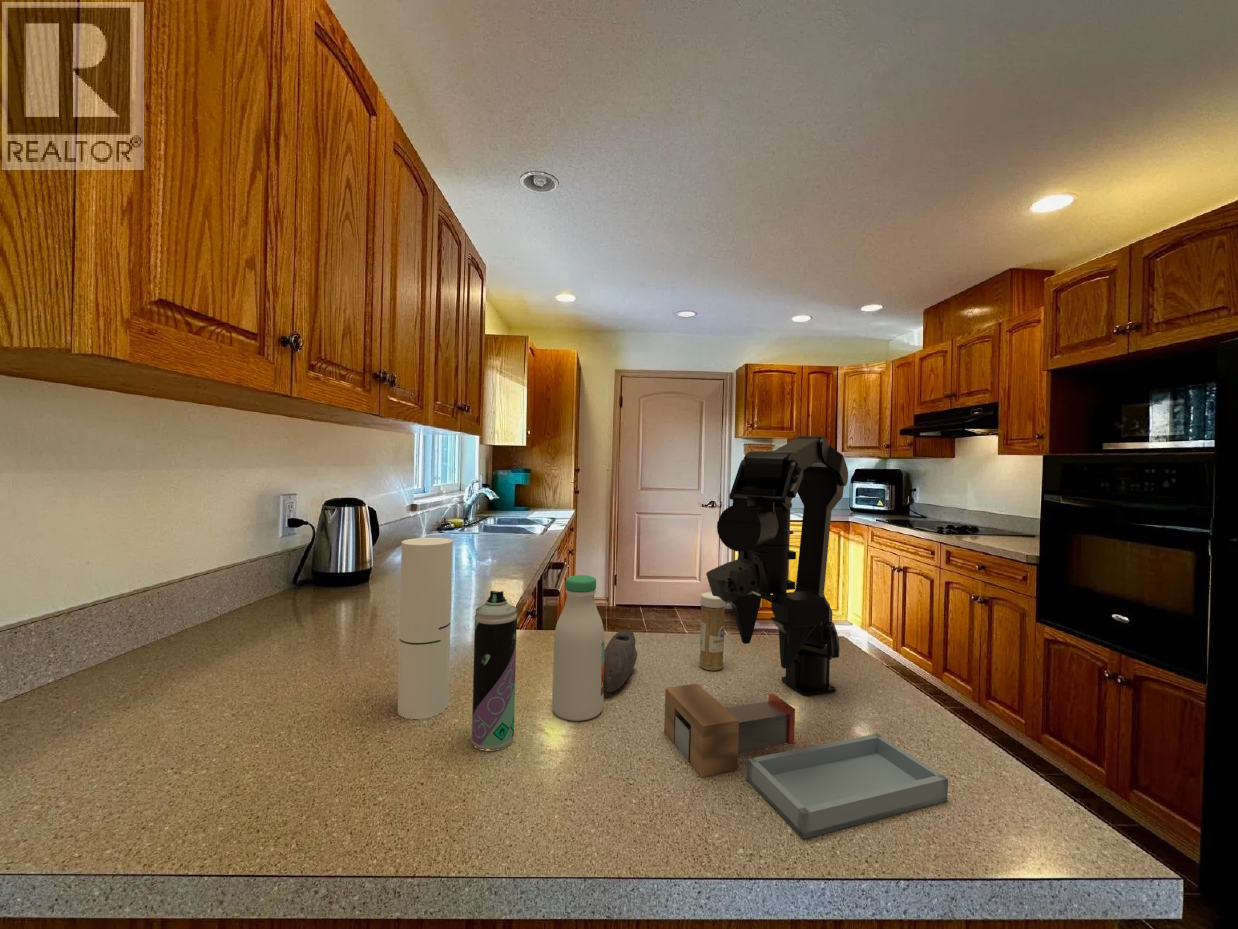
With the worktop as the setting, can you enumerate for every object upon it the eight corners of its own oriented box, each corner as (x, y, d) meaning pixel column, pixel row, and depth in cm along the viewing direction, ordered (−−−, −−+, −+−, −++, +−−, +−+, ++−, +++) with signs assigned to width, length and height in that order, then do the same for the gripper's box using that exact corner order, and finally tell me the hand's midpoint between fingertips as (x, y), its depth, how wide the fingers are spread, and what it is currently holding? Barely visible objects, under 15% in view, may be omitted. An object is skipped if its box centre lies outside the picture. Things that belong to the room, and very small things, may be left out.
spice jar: (720, 673, 92) (722, 599, 92) (696, 668, 94) (698, 595, 94) (725, 664, 97) (728, 593, 96) (702, 660, 98) (704, 590, 98)
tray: (876, 753, 68) (877, 733, 68) (947, 801, 59) (948, 778, 59) (747, 780, 61) (747, 758, 61) (803, 839, 52) (803, 814, 52)
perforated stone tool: (620, 703, 80) (621, 659, 80) (588, 698, 82) (589, 654, 82) (640, 666, 95) (641, 629, 95) (613, 663, 96) (614, 626, 96)
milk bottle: (596, 725, 73) (599, 585, 73) (544, 719, 75) (548, 581, 74) (608, 701, 81) (611, 574, 80) (561, 695, 82) (564, 570, 82)
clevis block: (696, 726, 74) (697, 683, 74) (737, 770, 63) (738, 720, 63) (664, 732, 72) (665, 687, 72) (701, 777, 62) (702, 726, 62)
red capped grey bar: (772, 726, 74) (773, 693, 74) (794, 744, 70) (795, 709, 70) (673, 744, 69) (674, 708, 69) (689, 764, 65) (690, 726, 64)
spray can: (476, 755, 65) (480, 598, 65) (467, 734, 70) (471, 588, 70) (518, 745, 67) (522, 594, 67) (507, 726, 72) (511, 584, 72)
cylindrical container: (458, 703, 79) (462, 540, 78) (422, 724, 72) (427, 546, 72) (423, 692, 82) (427, 536, 81) (386, 712, 75) (390, 542, 75)
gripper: (684, 533, 77) (682, 637, 77) (757, 557, 59) (753, 691, 60) (748, 532, 81) (746, 631, 81) (834, 553, 63) (831, 680, 63)
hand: (764, 654), depth 71 cm, fingers open, 9 cm apart
